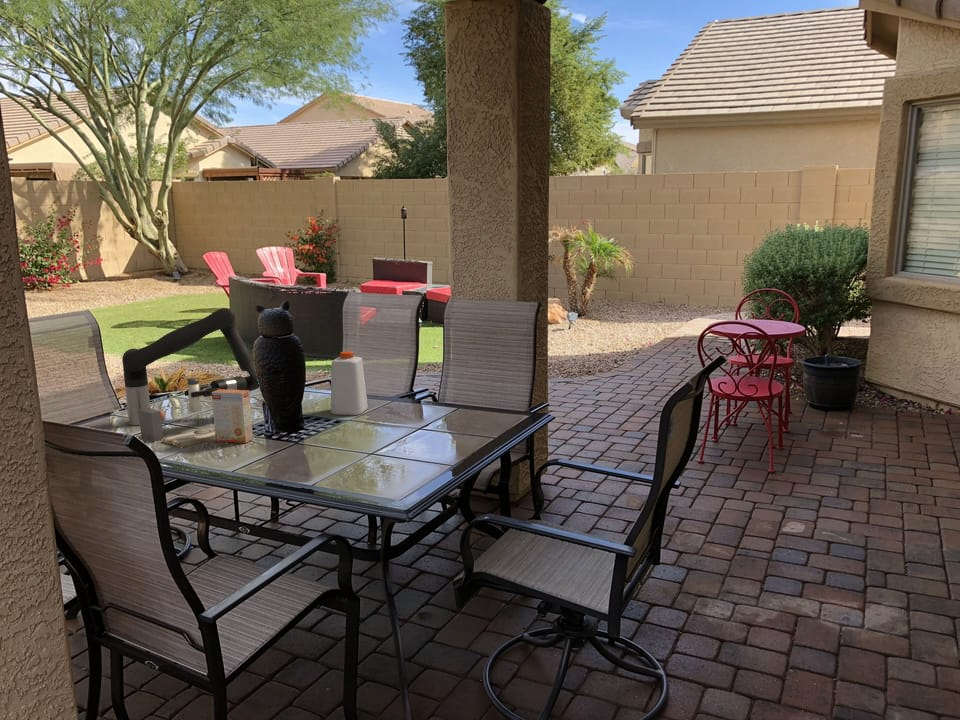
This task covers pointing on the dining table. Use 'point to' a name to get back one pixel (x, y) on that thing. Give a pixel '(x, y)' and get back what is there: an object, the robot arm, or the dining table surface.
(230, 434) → the cracker box
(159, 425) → the button panel
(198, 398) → the white shaker grey cap
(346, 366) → the plastic bottle
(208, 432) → the beige board with ring
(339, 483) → the dining table surface
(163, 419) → the button
